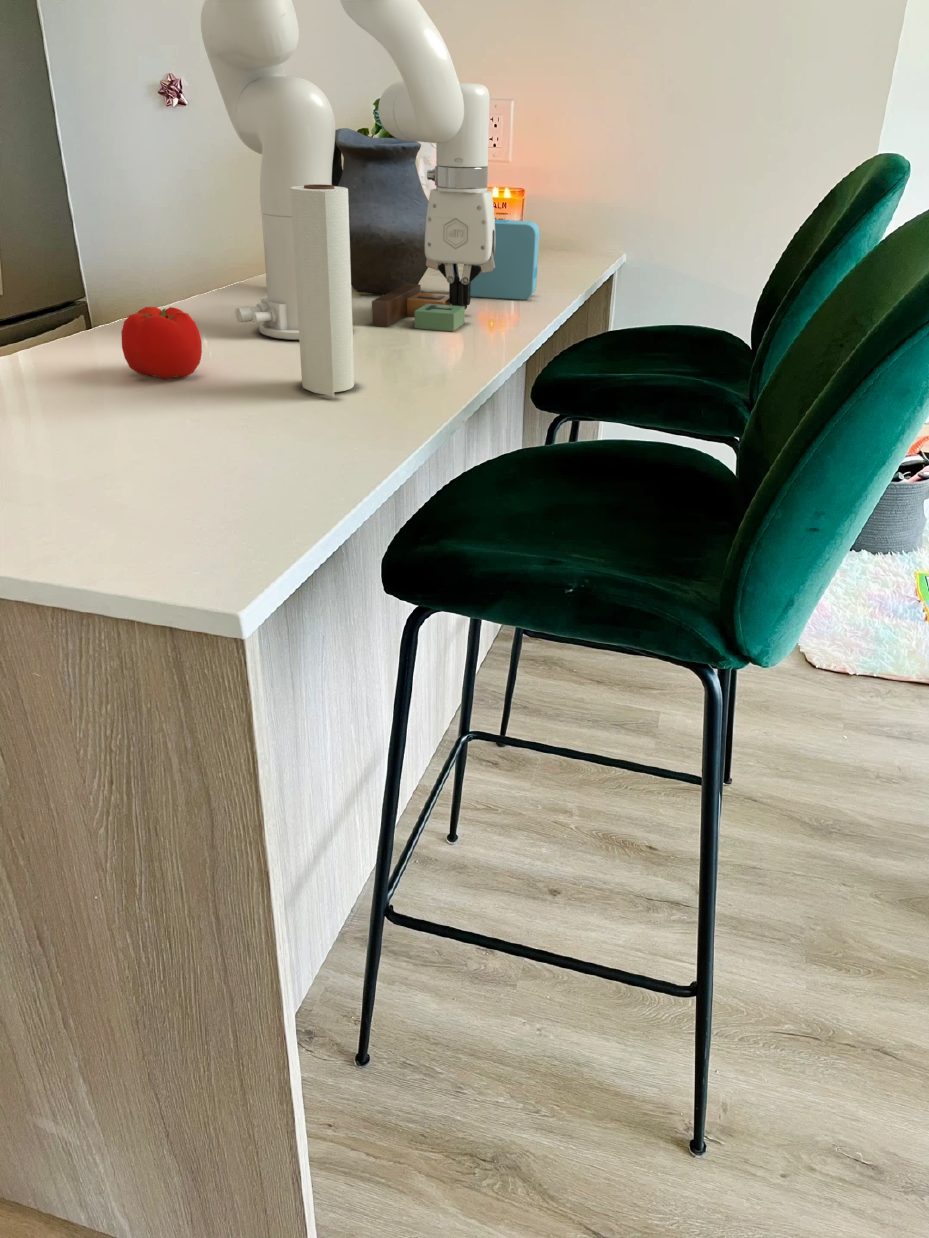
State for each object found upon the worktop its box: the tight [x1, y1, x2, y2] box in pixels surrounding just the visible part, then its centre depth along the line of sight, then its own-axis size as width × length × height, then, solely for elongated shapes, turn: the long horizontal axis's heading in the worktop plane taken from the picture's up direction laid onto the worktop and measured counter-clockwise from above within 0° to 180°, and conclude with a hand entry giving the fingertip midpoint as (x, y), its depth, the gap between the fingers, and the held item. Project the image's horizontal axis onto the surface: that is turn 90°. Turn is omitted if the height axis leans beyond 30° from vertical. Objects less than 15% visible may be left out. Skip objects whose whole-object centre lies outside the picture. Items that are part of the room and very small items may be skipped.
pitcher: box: [332, 127, 429, 296], centre depth 159 cm, size 21×22×25 cm
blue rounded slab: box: [470, 219, 541, 301], centre depth 160 cm, size 12×4×12 cm, turn 78°
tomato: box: [121, 306, 203, 380], centre depth 111 cm, size 9×9×8 cm
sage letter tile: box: [414, 304, 466, 332], centre depth 140 cm, size 6×6×3 cm
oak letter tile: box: [406, 292, 452, 317], centre depth 148 cm, size 6×6×3 cm
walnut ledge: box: [371, 283, 422, 327], centre depth 146 cm, size 16×2×4 cm, turn 165°
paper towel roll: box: [290, 184, 355, 398], centre depth 104 cm, size 7×6×21 cm
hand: (459, 309), depth 147 cm, fingers closed
